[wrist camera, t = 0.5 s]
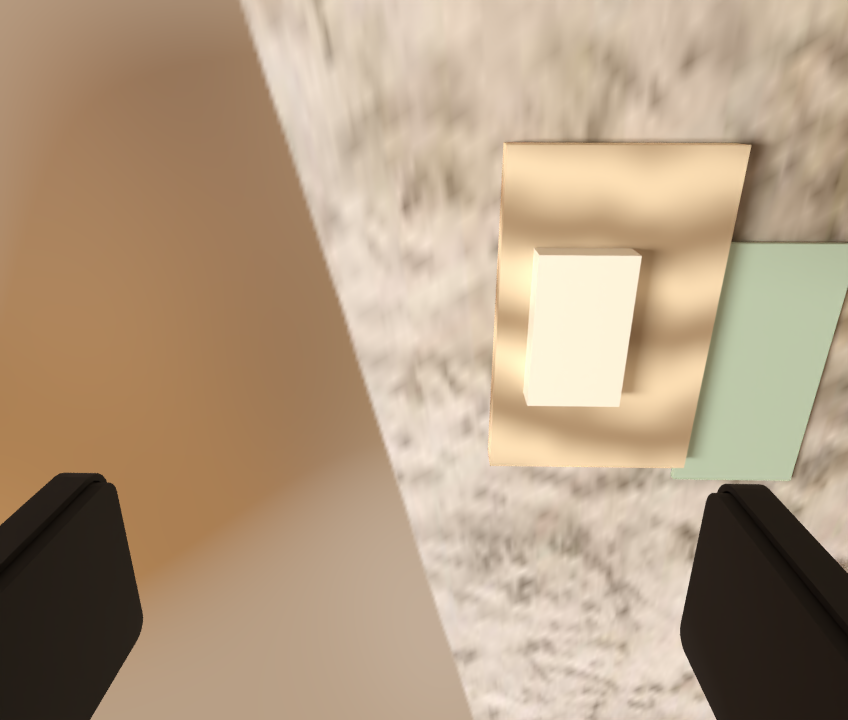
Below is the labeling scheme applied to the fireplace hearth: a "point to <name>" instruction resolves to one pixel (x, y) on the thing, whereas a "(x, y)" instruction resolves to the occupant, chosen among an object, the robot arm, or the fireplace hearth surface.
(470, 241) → the fireplace hearth surface
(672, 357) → the wavy wooden board
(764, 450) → the mat
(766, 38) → the fireplace hearth surface
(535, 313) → the cream rectangular block
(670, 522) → the fireplace hearth surface
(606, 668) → the fireplace hearth surface
